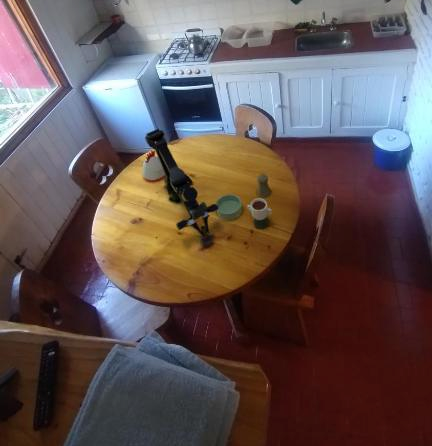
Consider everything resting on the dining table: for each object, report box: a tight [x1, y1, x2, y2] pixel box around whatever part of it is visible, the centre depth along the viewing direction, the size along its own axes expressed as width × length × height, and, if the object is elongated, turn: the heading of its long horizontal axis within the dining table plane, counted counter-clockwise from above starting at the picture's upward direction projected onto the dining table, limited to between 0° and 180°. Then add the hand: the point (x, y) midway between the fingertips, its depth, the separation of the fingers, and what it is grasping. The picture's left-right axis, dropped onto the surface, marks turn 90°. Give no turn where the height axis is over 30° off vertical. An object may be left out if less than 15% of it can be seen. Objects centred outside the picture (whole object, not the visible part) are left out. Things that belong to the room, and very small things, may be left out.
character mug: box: [246, 197, 273, 230], centre depth 151 cm, size 11×7×13 cm, turn 69°
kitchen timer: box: [141, 150, 165, 183], centre depth 189 cm, size 14×14×15 cm
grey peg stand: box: [200, 225, 214, 248], centre depth 149 cm, size 5×5×10 cm
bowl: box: [215, 193, 243, 221], centre depth 163 cm, size 12×12×4 cm
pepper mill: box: [256, 173, 271, 198], centre depth 166 cm, size 6×6×11 cm
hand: (206, 234), depth 147 cm, fingers closed on grey peg stand, 2 cm apart
